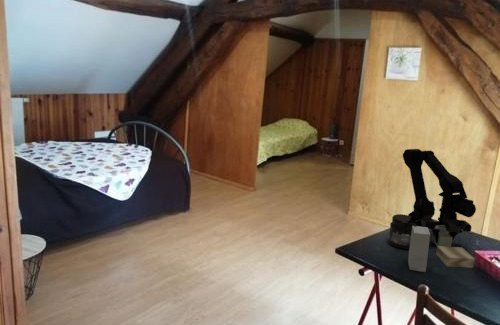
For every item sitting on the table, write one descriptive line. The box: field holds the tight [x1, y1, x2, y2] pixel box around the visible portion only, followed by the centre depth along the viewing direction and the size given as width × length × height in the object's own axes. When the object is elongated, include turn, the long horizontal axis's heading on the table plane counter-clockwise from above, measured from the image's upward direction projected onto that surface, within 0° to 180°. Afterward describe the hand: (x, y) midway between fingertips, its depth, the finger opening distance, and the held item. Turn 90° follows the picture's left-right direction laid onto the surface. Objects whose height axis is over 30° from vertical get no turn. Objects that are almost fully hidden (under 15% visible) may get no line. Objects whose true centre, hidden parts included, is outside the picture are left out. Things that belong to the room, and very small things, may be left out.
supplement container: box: [387, 213, 417, 250], centre depth 168 cm, size 10×10×12 cm
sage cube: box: [433, 231, 453, 247], centre depth 170 cm, size 5×5×5 cm
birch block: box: [435, 246, 476, 269], centre depth 156 cm, size 10×10×4 cm
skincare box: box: [407, 226, 431, 273], centre depth 149 cm, size 8×6×15 cm
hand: (442, 243), depth 170 cm, fingers closed on sage cube, 5 cm apart
